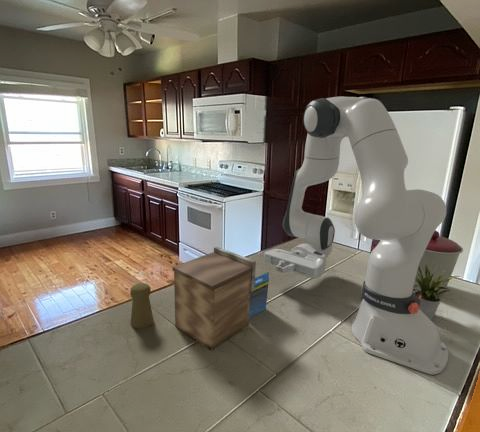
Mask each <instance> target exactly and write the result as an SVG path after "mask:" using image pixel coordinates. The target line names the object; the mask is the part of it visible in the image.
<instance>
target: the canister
mask: <svg viewBox="0 0 480 432" xmlns="http://www.w3.org/2000/svg"><path fill="white" fill-rule="evenodd" d="M463 252H464V249H463V247H462V246H461V245H459V244H458V243H457V242H456V241H454V240H452V239H450V238H448V237H443V236H441V235H440V232H439V231H438V230H437V229H436V230H435V232H434V233H433V235H432V237H431V239H430V241H429V243H428V245H427V247H426V250H425V252H424V254H423V256H422V258H421V261H420V263H419V267H420V269H421V272H422V275H423V277H425V265H424V263H426V265H427V267H428V269H429V271H430V276H431V275H432V274H434V273H435V274H434V275H433V277H432V280H431V283H432V281H433V279H437V278H438V277H439V276H440V274H441V273H442V272H443V271H444V270H445V272H444V274H443V276H442V277H441V278H440V280H439V281H441V280H445V279H447V278H449V277H452V274H453V272H454V270H455V267H456V264H457V261H458V259H459V256H460V254H462V253H463ZM438 265H439V266H438ZM437 266H438V267H437ZM435 268H436V269H435ZM433 271H434V272H433ZM417 272H418V273H419V275H420V276H421V274H420V272H419V269H418V270H417ZM436 272H437V273H436ZM418 273H417V274H416V275H417V277H419V275H418ZM419 278H420V277H419ZM421 278H422V277H421ZM421 278H420V280H421ZM421 281H422V280H421ZM449 281H450V280H448V281H446V282H444V283H443V284H441V285H440V286H439V287H445V288H447V286H448V284H449ZM422 283H423V282H422ZM431 283H430V286H431ZM414 284H415V285H418V286H417V287H414V288H413V291H414V290H415V291H416V290H421V289H420V287H419V284H418V282H417V281H415V283H414ZM429 289H430V288H429ZM442 291H445V289H440V291H439V292H438V293H440V292H442ZM440 294H441V293H440Z"/></svg>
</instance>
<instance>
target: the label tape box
mask: <svg viewBox="0 0 480 432" xmlns="http://www.w3.org/2000/svg"><path fill="white" fill-rule="evenodd" d="M269 278H270V272H269V271H267V272H265V273H263V274H261V275H257V276H255V286H254V291H253V292H250V306H249V319H250V318H252V317H254V316H255V315H257V314H259V313H261V312H262V311H265V310H266V309H267V300H268V291H269V282H270V279H269Z"/></svg>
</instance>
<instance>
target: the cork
mask: <svg viewBox="0 0 480 432" xmlns="http://www.w3.org/2000/svg"><path fill="white" fill-rule="evenodd" d="M129 292H130V293H129V294H130V297H131V298H132V301H131V302H132V305H131V314H130V326H131V327H132V328H134V329H138V330H139V329H145V328H148V327H150V326H151V325H152V324H154V314H153V311H152V306H151V301H150V295H151V292H152V291H151V286H150V284H148V283H145V282H140V283H138V282H137V283H135V284H133V285H132V287H130V291H129Z"/></svg>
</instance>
